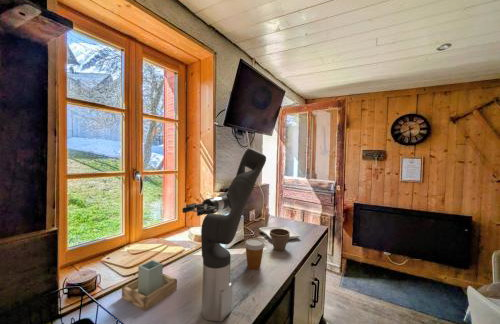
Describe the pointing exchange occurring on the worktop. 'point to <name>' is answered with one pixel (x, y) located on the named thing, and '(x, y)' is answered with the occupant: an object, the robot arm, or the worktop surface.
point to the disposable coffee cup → (254, 253)
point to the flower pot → (279, 238)
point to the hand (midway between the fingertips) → (190, 212)
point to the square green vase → (149, 277)
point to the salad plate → (267, 229)
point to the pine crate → (146, 302)
